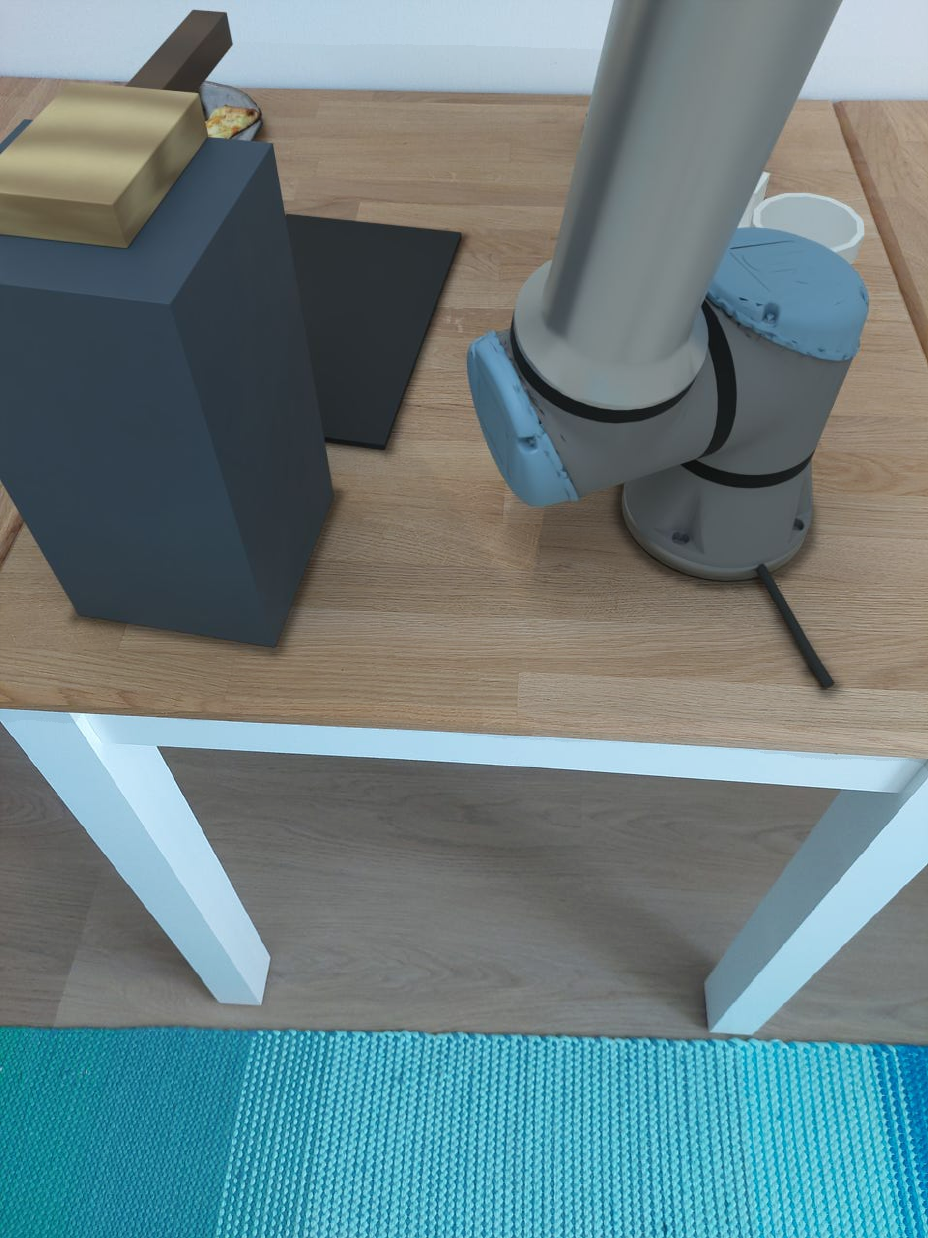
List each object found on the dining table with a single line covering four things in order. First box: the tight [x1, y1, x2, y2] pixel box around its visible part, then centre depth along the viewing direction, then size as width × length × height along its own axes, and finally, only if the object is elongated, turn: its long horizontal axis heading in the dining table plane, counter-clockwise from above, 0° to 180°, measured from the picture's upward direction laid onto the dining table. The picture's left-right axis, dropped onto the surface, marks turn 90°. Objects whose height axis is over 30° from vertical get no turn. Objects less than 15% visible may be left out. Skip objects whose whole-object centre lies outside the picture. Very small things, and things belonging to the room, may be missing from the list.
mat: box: [285, 213, 462, 451], centre depth 93 cm, size 34×20×1 cm, turn 169°
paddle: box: [0, 9, 234, 249], centre depth 55 cm, size 24×8×2 cm, turn 169°
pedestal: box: [0, 118, 335, 648], centre depth 64 cm, size 16×16×30 cm
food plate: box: [196, 80, 264, 141], centre depth 113 cm, size 25×23×4 cm
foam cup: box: [749, 192, 865, 266], centre depth 85 cm, size 10×9×13 cm
